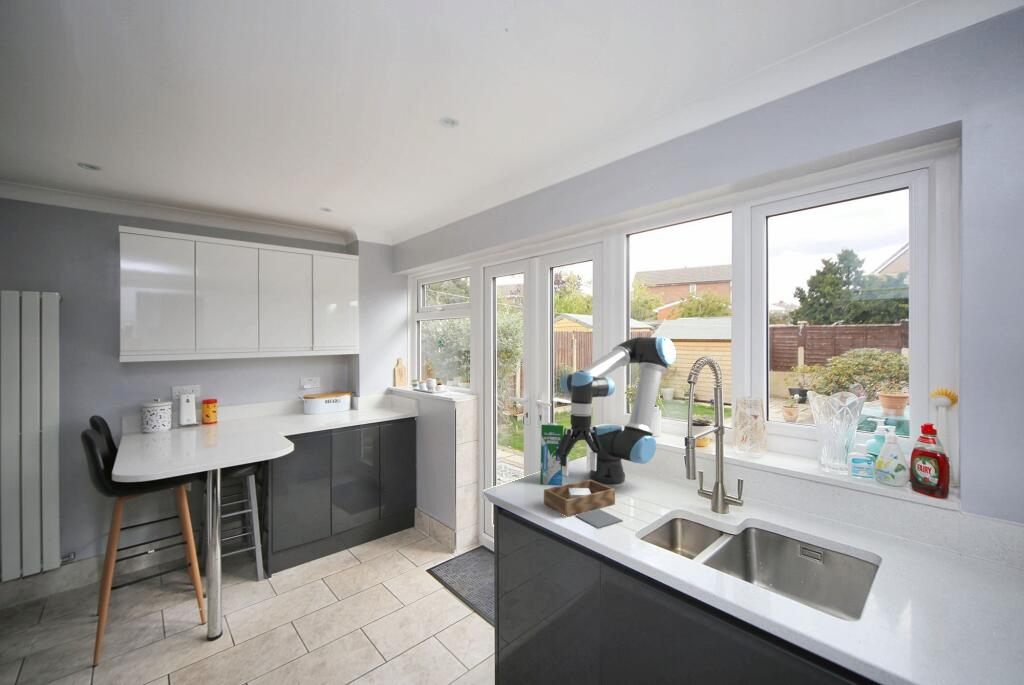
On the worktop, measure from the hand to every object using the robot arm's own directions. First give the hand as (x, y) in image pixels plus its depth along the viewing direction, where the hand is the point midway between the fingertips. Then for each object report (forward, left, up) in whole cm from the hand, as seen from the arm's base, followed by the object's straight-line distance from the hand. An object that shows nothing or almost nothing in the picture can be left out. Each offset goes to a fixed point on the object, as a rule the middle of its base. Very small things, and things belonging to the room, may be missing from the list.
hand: (579, 472), depth 156 cm
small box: (0, 0, -12) cm, 12 cm away
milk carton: (-7, -26, -12) cm, 29 cm away
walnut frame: (0, 0, -12) cm, 12 cm away
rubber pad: (+3, +13, -12) cm, 18 cm away
